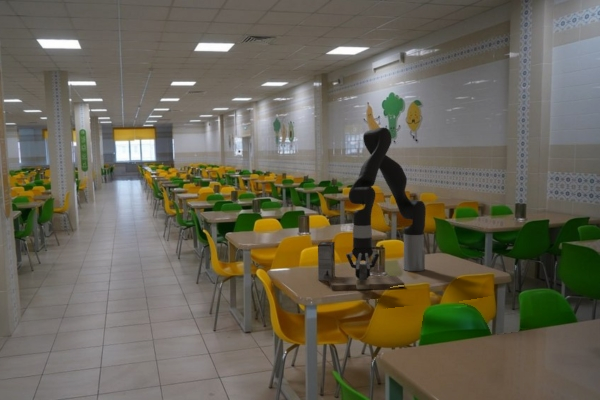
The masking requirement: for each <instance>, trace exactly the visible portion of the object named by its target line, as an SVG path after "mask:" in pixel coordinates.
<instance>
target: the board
mask: <svg viewBox="0 0 600 400" xmlns="http://www.w3.org/2000/svg"><path fill="white" fill-rule="evenodd" d="M367 279H369V289H368V290H378V289H380V290H384V289H385V290H386V289H387V288H390V287H393V286H398V285H404V286H405V282H404V281H402V280H401V278H399V277H398V275H374V276H372V275H370V276H369V277H368V278H367ZM327 282H328V284H329V287H330V288H331V291H346V290H348V291H349V290H357V289H356V277H355V276H338V277H336V276H335V277H329V278H328V281H327ZM390 289H391V288H390ZM387 290H388V289H387Z"/></svg>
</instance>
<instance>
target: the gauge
mask: <svg viewBox="0 0 600 400" xmlns="http://www.w3.org/2000/svg"><path fill="white" fill-rule="evenodd" d="M354 277H356V275H355V274H354ZM355 290H370V289H369V279H367V265H366V263H360V265H359V278H357V277H356V289H355Z"/></svg>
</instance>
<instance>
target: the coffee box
mask: <svg viewBox="0 0 600 400" xmlns="http://www.w3.org/2000/svg"><path fill="white" fill-rule="evenodd" d="M335 249H336V248H335V241H321V242H319V244H317V266H318V267H317V268H318V269H317V270H318V271H317V273H318V275H317V277H318V281H327V282H328V278H329V277H336V271H335V270H336V267H335V265H336V264H335V262H336V261H335V258H336V256H335V255H336V254H335V253H336V251H335Z"/></svg>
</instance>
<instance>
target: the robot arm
mask: <svg viewBox="0 0 600 400" xmlns="http://www.w3.org/2000/svg"><path fill="white" fill-rule="evenodd" d="M362 137H363V143H364V146H365V148H366V150H367V152H368V153H369V156H368V158H367V159H366V160H365V161H364V162H363V164H362V166H361V169H360V171H359V174H358V176H357V179H356V180H355V182H354V183H353V185H352V186H351V187H350V189H349V192H348V199H349V202H350V203H351V204H354V205H364V208H362V209H357V210H354V212H353V227H352V250H351V252H349V253H346V254H345V257H346V259H347V261H348V263H349V266H350V267H351V268H352V269H355V274H354V276H355V275H356V277H357V278H359V265H360V264H361V262H362V261H363V262H364V264H366V265H367V278H368V277H369V276H371V269H372V268H375V266H376V264H377V261H378V259H379V257H380V254H379V253H378V252H375V251H373V249H372V248H373V247H372V246H373V239H372V237H373V232H372V231H373V229H372V211H373V207H374V202H375V200H376V190H375V189H374V188H373V186H374V185H375V184H376V179H377V176H378V174H379V173H378V172H379V171H380V173H381V174H382V178H383V179H384V181H385V183H386V185H387V187H388V188H389V190H390V192H391V194H392V196H393V198H394V201H395V203H396V205H397V209H398V212H399V213H400V215H401V217H402V218H404V219H405V220H410V221H411V220H412V222H411V224H410V225H409V226H406V227H404V228H403V270H405V271H407V272H421V271H425V268H426V267H425V264H426V262H425V261H426V260H425V259H426V256H425V255H426V253H425V252H426V251H425V249H424V235H425V234H424V231H425V226H426V213H427V212H426V205H425V202H424V201H422V200H415V199H409V197H408V196H407V194H406V187H407V184H408V183H407V182H408V181H407V180H408V179H407V176H406V173H405V172H404V170H403V169H404V168H403V167H402V166H401V165H400V164H399V163H398V161H396V160H394V159H392V158H391V157H390V156H388V155H387V153H388V151H389V149H390V146H391V144H392V134H391V132H390V130H389V128H387V127H378V128H374V129H373V128H372V129H369V130H367V131H365V132H364V133H363V136H362ZM353 256H354V258H355V264H354V262H353V260H352V258H353ZM371 257H372V260H371V262H370V258H371Z"/></svg>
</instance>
